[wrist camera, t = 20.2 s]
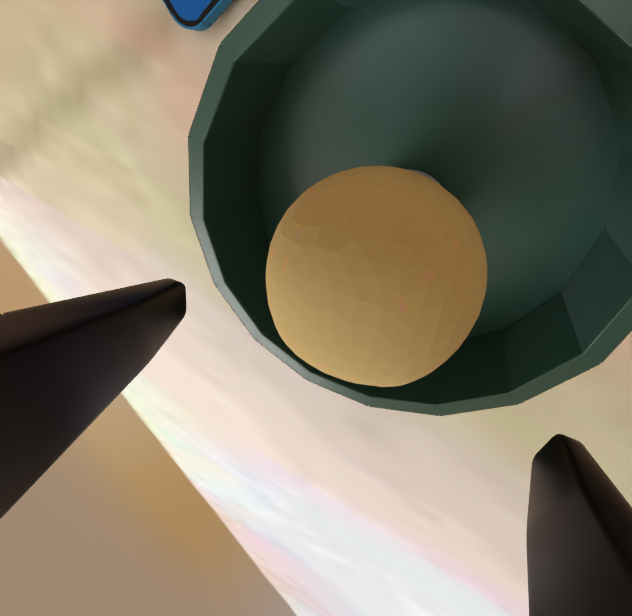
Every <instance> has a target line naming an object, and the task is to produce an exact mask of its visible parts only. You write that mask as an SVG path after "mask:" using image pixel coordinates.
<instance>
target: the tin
mask: <svg viewBox="0 0 632 616" xmlns="http://www.w3.org/2000/svg"><path fill="white" fill-rule="evenodd" d="M188 151H189V191H190V216H191V220H192V223H193V226H194V228H195V231H196V234H197V237H198V240H199V242H200V245H201V248H202V251H203V254H204V256H205V259H206V262H207V265H208V268H209V270H210V273H211V276H212V279H213V282H214V284H215V285H216V288H217V289H218V290H219V292H220V293H221V294H222V296H223V297H224V298H225V300H226V301H227V302H228V304H229V305H230V307H231V308H232V309H233V311H234V312H235V313H236V315H237V316H238V317H239V319H240V320H241V322H242V323H243V324H244V326H245V327H246V328H247V330H248V331H249V332H250V334H251V335H252V337H253V338H254V339H255V340H256V341H257V342H258V343H260V344H261V345H262V346H264V347H265V348H266V349H267V350H269V351H270V352H271V353H273V354H274V355H275V356H276V357H278V358H279V359H280V360H281V361H283V362H284V363H285V364H287V365H288V366H289V367H290V368H292V369H293V370H294V371H295V372H297V373H298V374H299V375H301V376H302V377H303V378H304V379H307V380H308V381H310V382H312V383H314V384H317V385H319V386H322V387H324V388H326V389H329V390H331V391H333V392H336V393H338V394H340V395H343V396H345V397H348V398H350V399H352V400H355V401H357V402H359V403H362V404H364V405H366V406H368V405H369V406H370V407H376V408H384V409H391V410H399V411H406V412H414V413H421V414H429V415H436V416H439V415H440V416H444V415H451V414H458V413H464V412H471V411H478V410H484V409H491V408H498V407H504V406H511V405H518V403H519V404H520V403H522V402H524V401H526V400H528V399H530V398H533V397H535V396H537V395H539V394H541V393H543V392H545V391H547V390H549V389H551V388H553V387H555V386H557V385H559V384H561V383H563V382H565V381H567V380H569V379H571V378H573V377H575V376H577V375H579V374H581V373H583V372H585V371H587V370H589V369H591V368H593V367H595V366H597V365H599V364H600V363H602V362H603V361H604V360H605V359H606V358H607V357H608V356H609V355H610V354H611V353H612V351H613V350H614V349H615V348H616V347H617V346H618V345H619V344H620V343H621V342H622V341H623V340H624V339H625V337H626V336H627V335H628V334H629V333H630V332H631V331H632V0H259V1H258V2H257V3H256V4H255V5H254V6H253V7H252V8H251V10H250V11H249V12H248V13H247V14H246V15H245V16H244V17H243V18H242V20H241V21H240V22H239V23H238V24H237V25H236V26H235V27H234V28H233V29H232V31H231V32H230V33H229V34H228V35H227V36H226V37H225V38H224V39H223V41H222V42H221V45H220V46H219V47H218V50H217V53H216V56H215V59H214V62H213V65H212V68H211V71H210V73H209V76H208V79H207V82H206V85H205V88H204V91H203V94H202V97H201V100H200V103H199V105H198V108H197V111H196V114H195V117H194V120H193V123H192V126H191V129H190V132H189V136H188ZM361 166H391V167H398V168H402V169H411V170H418V171H421V172H424V173H426V174H428V175H430V176H432V177H433V178H434V179H436V180H437V181H438V182H439V183H440V185H441V186H442V187H443V188H445V189H446V190H447V191H448V192H449V193H451V194H452V195H453V196H454V197H456V198H457V199H458V200H459V202H460V203H461V204H462V205H463V207H464V208H465V209H466V210H467V212H468V213H469V214H470V215H471V217H472V218H473V220H474V222H475V224H476V227H477V229H478V231H479V233H480V236H481V239H482V242H483V246H484V249H485V253H486V261H487V287H486V292H485V296H484V300H483V304H482V307H481V311H480V314H479V316H478V318H477V320H476V322H475V324H474V326H473V327H472V329H471V331H470V333H469V334H468V336H467V337H466V339H465V340H464V341H463V343H462V344H461V346H460V347H459V349H458V350H457V351H456V352H454V353H453V354H452V355H451V356H450V357H449V358H448V359H447V360H446V361H445V362H444V363H443V364H442V365H440V366H439V367H438V368H436V369H435V370H434V371H432V372H431V373H429V374H428V375H426V376H424V377H422V378H420V379H418V380H415V381H413V382H410V383H408V384H405V385H401V386H392V387H378V386H371V385H364V384H356V383H352V382H348V381H345V380H342V379H339V378H336V377H334V376H331V375H328V374H326V373H324V372H322V371H320V370H318V369H317V368H315V367H313V366H311V365H310V364H308V363H306V362H305V361H304V360H302V359H301V358H300V357H298V356H297V355H296V354H295V353H294V352H293V351H292V350H291V349H290V348H289V347H288V346H287V345H286V344H285V342H284V341H283V339H282V338H281V337H280V335H279V333H278V331H277V329H276V327H275V324H274V321H273V318H272V315H271V311H270V308H269V305H268V298H267V290H266V266H267V258H268V253H269V248H270V243H271V241H272V238H273V236H274V233H275V231H276V228H277V226H278V224H279V223H280V221H281V219H282V218H283V216H284V214H285V213H286V211H287V209H288V208H289V207H290V206H291V205H292V204H293V203H294V202H295V201H296V200H297V199H298V198H299V197H300V196H301V194H302V193H304V192H305V191H306V190H307V189H309V188H310V187H311V186H313V185H314V184H316V183H317V182H319V181H321V180H323V179H325V178H327V177H329V176H331V175H334V174H336V173H338V172H341V171H345V170H349V169H353V168H357V167H361Z"/></svg>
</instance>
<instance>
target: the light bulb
mask: <svg viewBox="0 0 632 616" xmlns="http://www.w3.org/2000/svg"><path fill="white" fill-rule="evenodd" d="M486 287H487V261H486V253H485V249H484V246H483V242H482V239H481V236H480V233H479V231H478V229H477V227H476V224H475V222H474V220H473V218H472V217H471V215H470V214H469V213H468V212H467V210H466V209H465V208H464V207H463V205H462V204H461V203H460V202H459V200H458V199H457V198H456V197H454V196H453V195H452V194H451V193H449V192H448V191H447V190H446V189H445V188H443V187H442V186H441V185H440V183H439V182H438V181H437V180H436V179H434V178H433V177H432V176H430V175H428V174H426V173H424V172H421V171H418V170H411V169H402V168H398V167H391V166H361V167H357V168H353V169H349V170H345V171H341V172H338V173H336V174H334V175H331V176H329V177H327V178H325V179H323V180H321V181H319V182H317V183H316V184H314V185H313V186H311V187H310V188H309V189H307V190H306V191H305V192H304V193H302V194H301V196H300V197H299V198H298V199H297V200H296V201H295V202H294V203H293V204H292V205H291V206H290V207H289V208H288V209H287V211H286V213H285V214H284V216H283V218H282V219H281V221H280V223H279V224H278V226H277V228H276V231H275V233H274V236H273V238H272V241H271V243H270V248H269V253H268V258H267V266H266V290H267V298H268V305H269V308H270V311H271V315H272V318H273V321H274V324H275V327H276V329H277V331H278V333H279V335H280V337H281V338H282V339H283V341H284V342H285V344H286V345H287V346H288V347H289V348H290V349H291V350H292V351H293V352H294V353H295V354H296V355H297V356H298V357H300V358H301V359H302V360H304V361H305V362H306V363H308V364H310V365H311V366H313V367H315V368H317V369H318V370H320V371H322V372H324V373H326V374H328V375H331V376H334V377H336V378H339V379H342V380H345V381H348V382H352V383H356V384H364V385H371V386H378V387H392V386H401V385H405V384H408V383H410V382H413V381H415V380H418V379H420V378H422V377H424V376H426V375H428V374H429V373H431V372H432V371H434V370H435V369H436V368H438V367H439V366H440V365H442V364H443V363H444V362H445V361H446V360H447V359H448V358H449V357H450V356H451V355H452V354H453V353H454V352H456V351H457V350H458V349H459V347H460V346H461V344H462V343H463V341H464V340H465V339H466V337H467V336H468V334H469V333H470V331H471V329H472V327H473V326H474V324H475V322H476V320H477V318H478V316H479V314H480V311H481V307H482V304H483V300H484V296H485V292H486Z"/></svg>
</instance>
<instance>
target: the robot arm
mask: <svg viewBox="0 0 632 616" xmlns="http://www.w3.org/2000/svg"><path fill="white" fill-rule="evenodd" d="M185 313H186V289H185V286H184V284H182V283H181V282H178V281H176V280H173V279H169V278H168V279H162V280H158V281H153V282H148V283H143V284H139V285H134V286H129V287H125V288H120V289H115V290H110V291H106V292H101V293H96V294H91V295H87V296H82V297H77V298H72V299H68V300H63V301H58V302H53V303H49V304H44V305H39V306H34V307H30V308H25V309H20V310H16V311H11V312H6V313H4V314H3V315H2V314H0V518H2V517H3V515H4V514H6V512H7V511H8V510H9V509H10V508H11V507H12V506H13V505H14V504H15V503H16V502H17V501H18V500H19V499H20V498H21V497H22V496H23V495H24V494H25V492H26V491H27V490H28V489H29V488H30V487H31V486H32V485H33V484H34V483H35V482H36V481H37V480H38V479H39V478H40V477H41V476H42V475H43V474H44V473H45V471H46V470H47V469H48V468H49V467H50V466H51V465H52V464H53V463H54V462H55V461H56V460H57V459H58V458H59V457H60V456H61V455H62V453H64V452H65V450H66V449H67V448H68V447H69V446H70V445H71V444H72V443H73V442H74V441H75V440H76V439H77V438H78V437H79V436H80V434H82V433H83V431H85V429H86V428H87V427H88V426H89V425H90V424H91V423H92V422H93V421H94V420H95V419H96V418H97V417H98V416H99V415H100V413H102V412H103V411H104V409H105V408H106V407H107V406H108V405H109V404H110V403H111V402H112V401H113V400H114V399H115V398H116V397H117V396H118V395H119V394H120V393H121V392H122V391H123V390H124V388H125V387H126V386H127V385H128V384H129V383H130V382H131V381H132V380H133V379H134V378H135V377H136V376H137V375H138V374H139V373H140V372H141V371H142V370H143V368H144V367H145V366H146V365H147V364H148V363H149V362H150V361H151V359H152V358H153V357H154V356H155V354H156V353H157V352H158V350H159V349H160V348H161V347H162V345H163V344H164V343H165V341H166V340H167V339H168V337H169V336H170V335H171V333H172V332H173V331H174V330H175V328H176V327H177V326H178V324H179V323H180V322H181V320H182V319H183V318H184V316H185ZM527 567H528V593H529V616H632V507H631V506H630V505H629V503H628V502H627V501H626V500H625V498H624V497H623V496H622V494H621V493H620V492H619V491H618V489H617V488H616V487H615V485H614V484H613V483H612V482H611V480H610V479H609V478H608V476H607V475H606V474H605V472H604V471H603V470H602V469H601V467H600V466H599V465H598V463H597V462H596V461H595V460H594V458H593V457H592V456H591V454H590V453H589V452H588V451H587V449H586V448H585V447H584V446H583V444H582V443H581V442H579V441H577V440H575V439H572V438H570V437H567V436H565V435H562V434H557V435H555V436H554V437H552V438H551V439H550V440H549V441H548V442H547V443H546V444H545V445H544V447H543V448H542V449H541V450H540V451H539V452H538V453H537V454H536V455H535V457H534V459H533V462H532V470H531V482H530V494H529V506H528V518H527Z"/></svg>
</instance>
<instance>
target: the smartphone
mask: <svg viewBox="0 0 632 616" xmlns="http://www.w3.org/2000/svg"><path fill="white" fill-rule="evenodd" d="M232 1H233V0H163V2H164V4H165V5H166V7H167V9H168V10H169V12H170V14H171V15H172V17H173V18H174V20H175V21H176V22H177V23H178V24H179V25H180V26H182V27H184V28H186V29H190V30H196V31H203V30H206V29H208V28H209V27H210V26H211V25H212V24H213V23H214V22H215V21H216V20H217V18H218V17H219V16H220V15H221V14H222V13H223V12H224V11H225V9H226V8H227V7H228V6H229V5H230V4H231V3H232Z"/></svg>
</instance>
